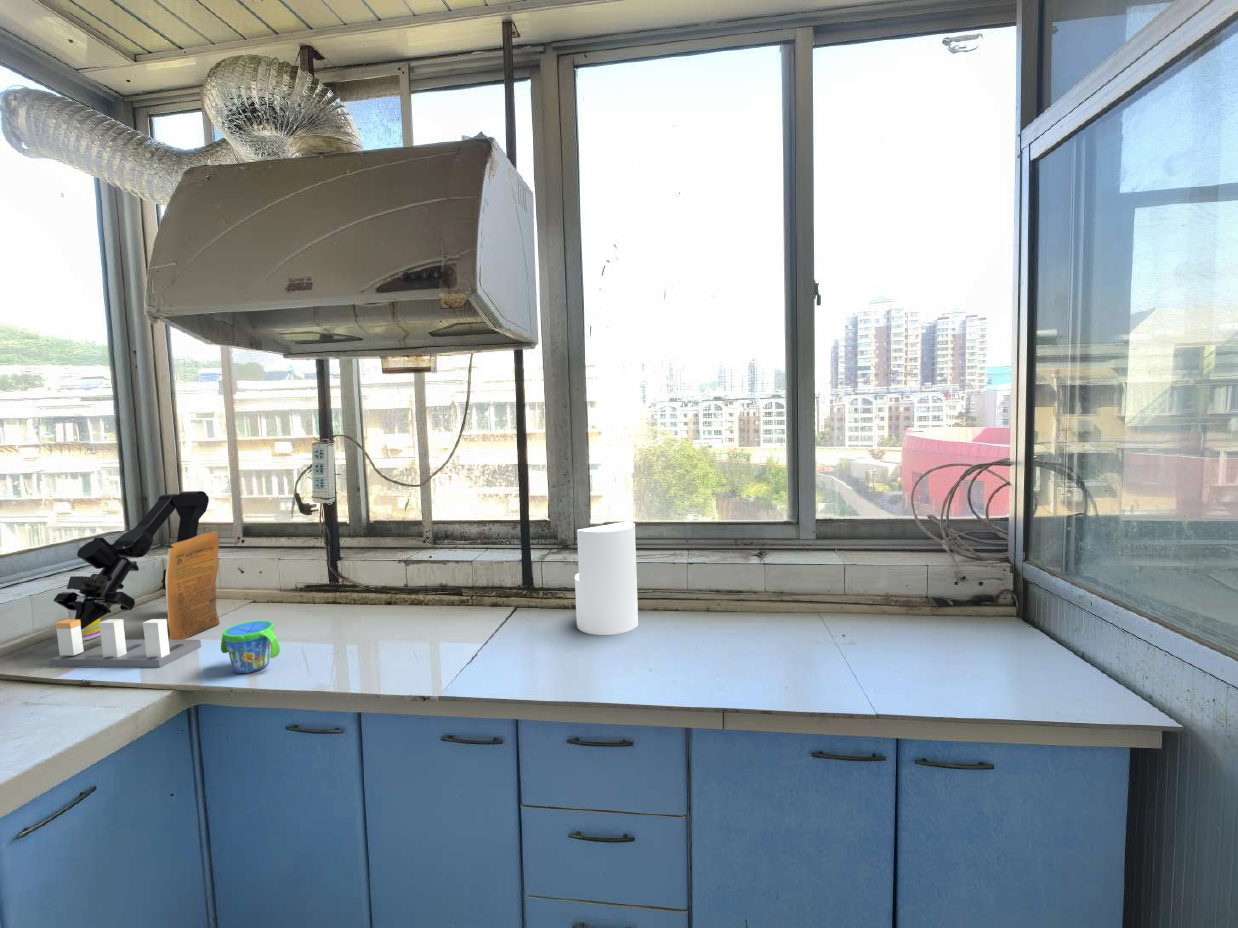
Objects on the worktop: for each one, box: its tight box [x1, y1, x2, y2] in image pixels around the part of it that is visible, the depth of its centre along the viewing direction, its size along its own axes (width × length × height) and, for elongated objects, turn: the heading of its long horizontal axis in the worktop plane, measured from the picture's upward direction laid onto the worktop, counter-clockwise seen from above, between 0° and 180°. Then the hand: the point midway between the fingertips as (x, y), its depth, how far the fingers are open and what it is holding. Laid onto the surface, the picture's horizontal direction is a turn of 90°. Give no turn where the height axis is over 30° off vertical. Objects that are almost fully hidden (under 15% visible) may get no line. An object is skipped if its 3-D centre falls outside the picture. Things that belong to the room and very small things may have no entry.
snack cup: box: [220, 620, 281, 674], centre depth 145 cm, size 16×10×10 cm
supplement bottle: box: [67, 592, 102, 642], centre depth 171 cm, size 7×7×13 cm
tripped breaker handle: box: [55, 618, 84, 655], centre depth 152 cm, size 3×4×8 cm, turn 84°
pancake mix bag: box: [165, 531, 220, 640], centre depth 172 cm, size 7×19×28 cm, turn 170°
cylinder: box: [574, 520, 639, 636], centre depth 166 cm, size 17×17×28 cm
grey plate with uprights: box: [49, 618, 202, 669], centre depth 156 cm, size 13×30×11 cm, turn 85°
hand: (75, 631), depth 154 cm, fingers closed, pressing on tripped breaker handle
